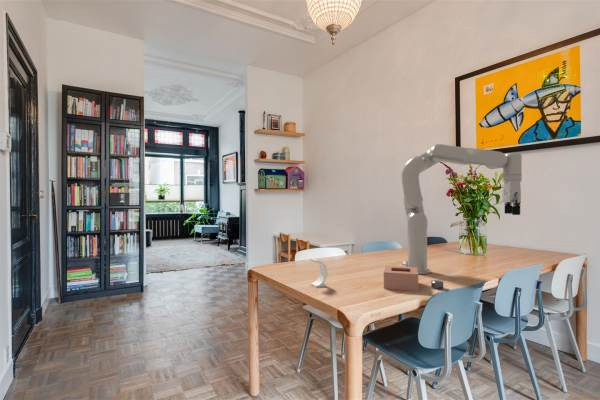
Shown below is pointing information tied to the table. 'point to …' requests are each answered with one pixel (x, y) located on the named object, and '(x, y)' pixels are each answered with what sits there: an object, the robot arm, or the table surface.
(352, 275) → the table surface
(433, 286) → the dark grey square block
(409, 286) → the coin box
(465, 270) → the table surface
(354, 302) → the table surface
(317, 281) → the headphone stand
